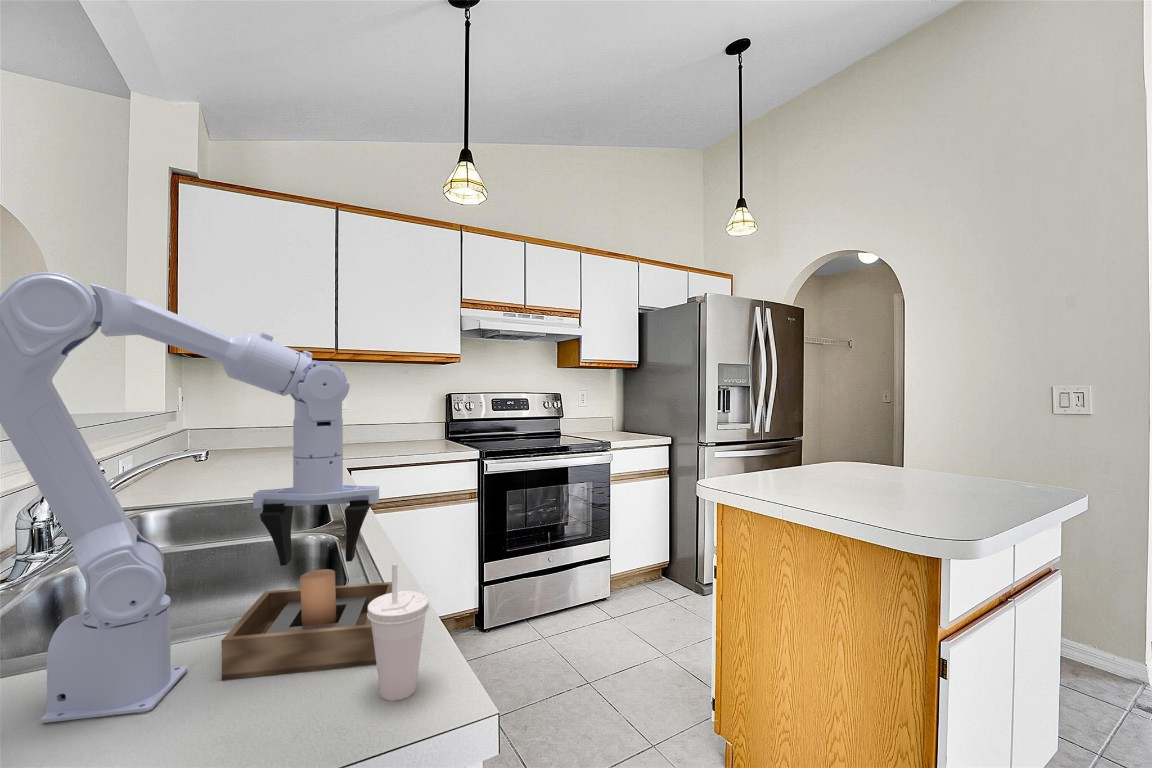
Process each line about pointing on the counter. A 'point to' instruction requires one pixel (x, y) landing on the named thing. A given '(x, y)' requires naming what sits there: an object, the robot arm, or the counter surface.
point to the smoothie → (397, 639)
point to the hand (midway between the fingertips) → (318, 560)
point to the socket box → (297, 638)
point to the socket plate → (346, 615)
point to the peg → (318, 597)
